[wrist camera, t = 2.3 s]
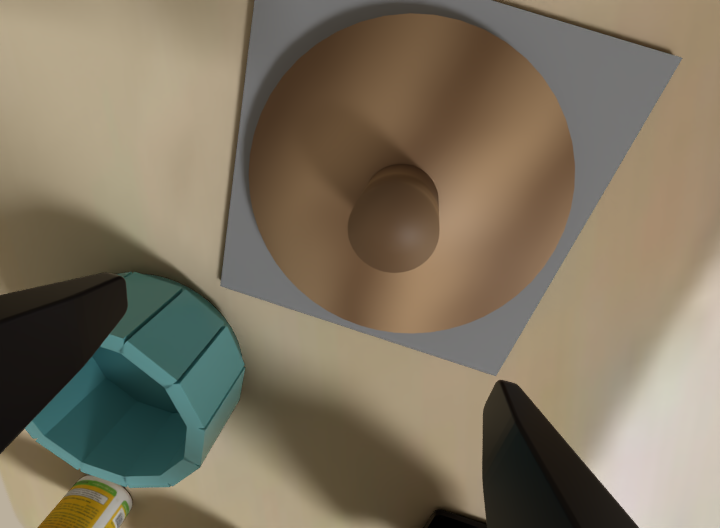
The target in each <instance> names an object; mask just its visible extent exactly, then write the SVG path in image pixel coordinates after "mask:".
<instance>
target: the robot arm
mask: <svg viewBox="0 0 720 528" xmlns="http://www.w3.org/2000/svg"><path fill="white" fill-rule="evenodd" d="M127 308H128V299H127V288H126V281H125V279H124V278H123V277H122V276H119V275H116V274H112V273H107V272H105V273H100V274H95V275H91V276H86V277H81V278H77V279H72V280H68V281H63V282H58V283H54V284H49V285H45V286H40V287H35V288H31V289H26V290H22V291H17V292H12V293H8V294H3V295H0V454H1V453H2V452H3V451H4V450H5V448H6V447H7V446H8V445H9V444H10V443H11V442H12V441H13V440H14V439H15V438H16V437H17V436H18V435H19V434H20V433H21V432H22V431H23V430H24V429H25V428H26V427H27V426H28V424H29V423H30V422H31V421H32V420H33V419H34V418H35V417H36V416H37V415H38V414H39V413H40V412H41V411H42V410H43V409H44V408H45V407H46V406H47V405H48V404H49V403H50V401H51V400H52V399H53V398H54V397H55V396H56V395H57V394H58V393H59V392H60V391H61V390H62V389H63V388H64V387H65V386H66V385H67V384H68V383H69V382H70V381H71V380H72V379H73V377H74V376H75V375H76V374H77V373H78V372H79V371H80V370H81V369H82V368H83V367H84V366H85V364H86V363H87V362H88V361H89V360H90V358H91V357H92V356H93V355H94V353H95V352H96V351H97V350H98V348H99V347H100V346H101V344H102V343H103V342H104V341H105V339H106V338H107V337H108V336H109V334H110V333H111V332H112V330H113V329H114V328H115V327H116V325H117V324H118V323H119V322H120V320H121V319H122V318H123V316H124V315H125V313H126V311H127ZM482 479H483V492H484V502H485V512H486V521H487V525H486V524H483V523H480V522H477V521H474V520H471V519H468V518H465V517H462V516H459V515H456V514H453V513H450V512H447V511H444V510H435V511H434V513H433V514H432V516H431V518H430V519H429V521H428V522H427V524H426V526H425V527H424V528H639V527H638V526H637V525H636V523H635V522H634V521H633V520H632V519H631V518H630V516H629V515H628V514H627V513H626V512H625V510H624V509H623V508H622V507H621V506H620V505H619V503H618V502H617V501H616V500H615V499H614V497H613V496H612V495H611V494H610V493H609V492H608V490H607V489H606V488H605V487H604V486H603V485H602V483H601V482H600V481H599V480H598V479H597V477H596V476H595V475H594V474H593V473H592V472H591V470H590V469H589V468H588V467H587V466H586V464H585V463H584V462H583V461H582V460H581V459H580V457H579V456H578V455H577V454H576V453H575V452H574V450H573V449H572V448H571V447H570V446H569V444H568V443H567V442H566V441H565V440H564V439H563V437H562V436H561V435H560V434H559V433H558V432H557V430H556V429H555V428H554V427H553V426H552V424H551V423H550V422H549V421H548V420H547V419H546V417H545V416H544V415H543V414H542V413H541V411H540V410H539V409H538V408H537V407H536V406H535V404H534V403H533V402H532V401H531V400H530V399H529V397H528V396H527V395H526V394H525V393H524V391H523V390H522V389H521V388H520V387H519V386H518V385H517V384H515V383H512V382H508V381H504V380H499V381H497V382H496V384H495V385H494V387H493V389H492V391H491V393H490V395H489V397H488V399H487V401H486V404H485V406H484V410H483V455H482Z"/></svg>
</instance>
